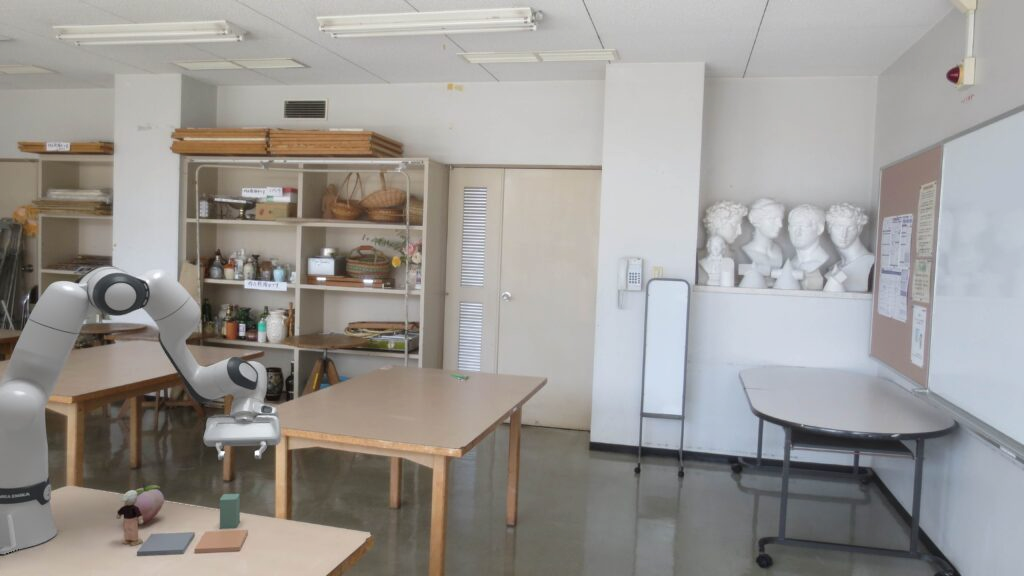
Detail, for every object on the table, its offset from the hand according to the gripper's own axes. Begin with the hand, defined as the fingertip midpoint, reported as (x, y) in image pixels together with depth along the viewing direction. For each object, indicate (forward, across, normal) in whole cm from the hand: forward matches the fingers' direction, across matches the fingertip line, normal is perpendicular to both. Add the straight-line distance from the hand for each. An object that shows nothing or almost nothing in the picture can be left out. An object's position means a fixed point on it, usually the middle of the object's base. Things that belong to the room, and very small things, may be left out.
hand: (239, 458), depth 193 cm
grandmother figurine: (+24, -21, -4) cm, 32 cm away
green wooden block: (+18, 0, +1) cm, 18 cm away
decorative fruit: (+15, -22, +4) cm, 27 cm away
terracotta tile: (+26, 0, -7) cm, 27 cm away
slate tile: (+26, -12, -7) cm, 29 cm away
